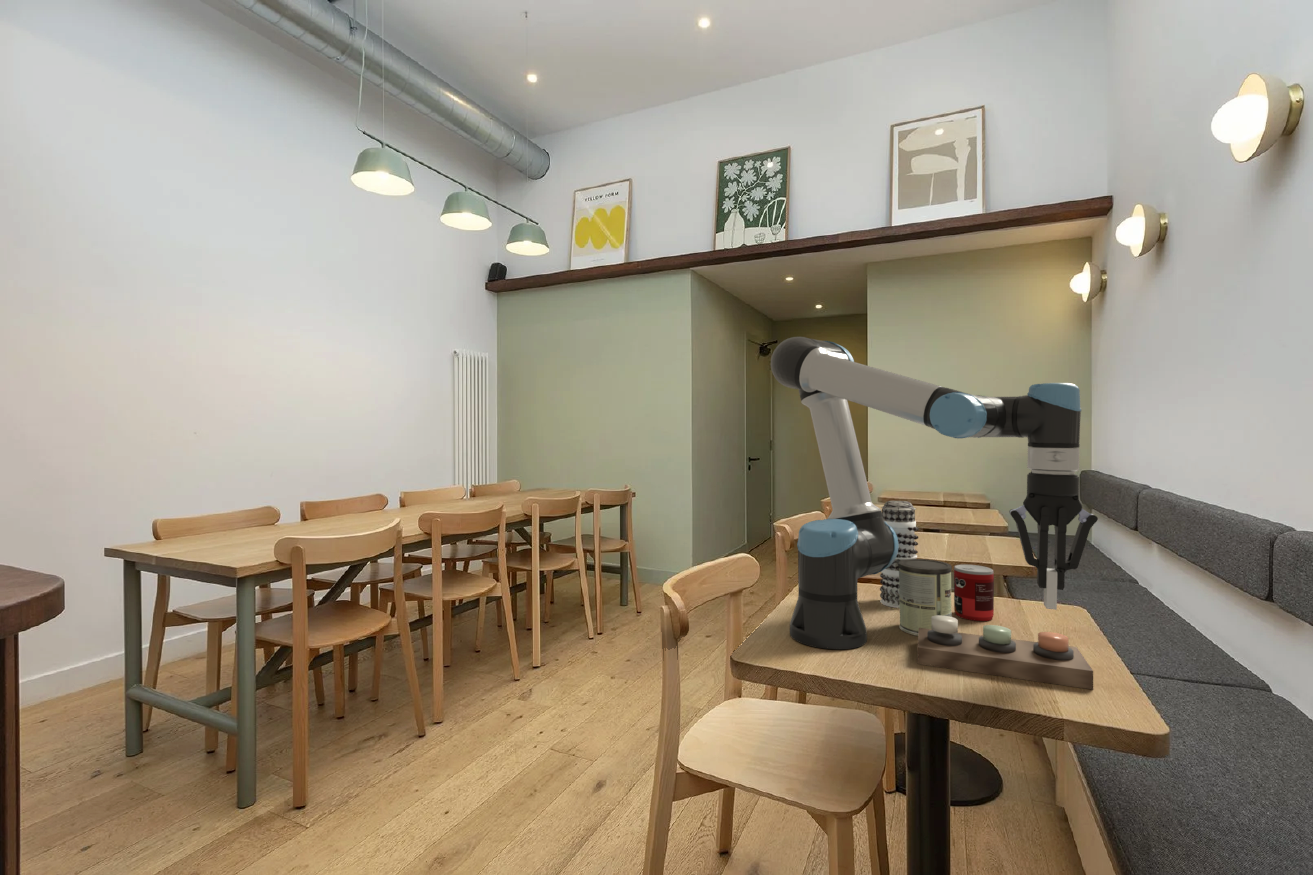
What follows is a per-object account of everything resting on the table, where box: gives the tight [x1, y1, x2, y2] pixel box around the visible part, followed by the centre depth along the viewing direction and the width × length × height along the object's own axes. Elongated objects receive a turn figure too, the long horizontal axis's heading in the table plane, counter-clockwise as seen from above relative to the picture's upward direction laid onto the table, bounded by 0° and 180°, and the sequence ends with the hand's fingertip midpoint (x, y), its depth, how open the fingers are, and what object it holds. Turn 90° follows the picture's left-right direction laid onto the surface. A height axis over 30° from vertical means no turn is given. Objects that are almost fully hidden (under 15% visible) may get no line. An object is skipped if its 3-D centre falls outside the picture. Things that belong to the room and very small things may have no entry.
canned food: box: [953, 564, 995, 622], centre depth 134 cm, size 8×8×11 cm
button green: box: [982, 624, 1012, 644], centre depth 106 cm, size 4×4×2 cm
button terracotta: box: [1037, 631, 1070, 652], centre depth 103 cm, size 4×4×2 cm
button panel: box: [916, 628, 1094, 690], centre depth 106 cm, size 26×12×4 cm, turn 65°
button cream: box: [931, 615, 959, 634], centre depth 110 cm, size 4×4×2 cm
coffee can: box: [898, 558, 953, 637], centre depth 125 cm, size 10×10×14 cm
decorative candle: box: [879, 500, 920, 609], centre depth 145 cm, size 9×9×25 cm
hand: (1050, 606), depth 103 cm, fingers closed
